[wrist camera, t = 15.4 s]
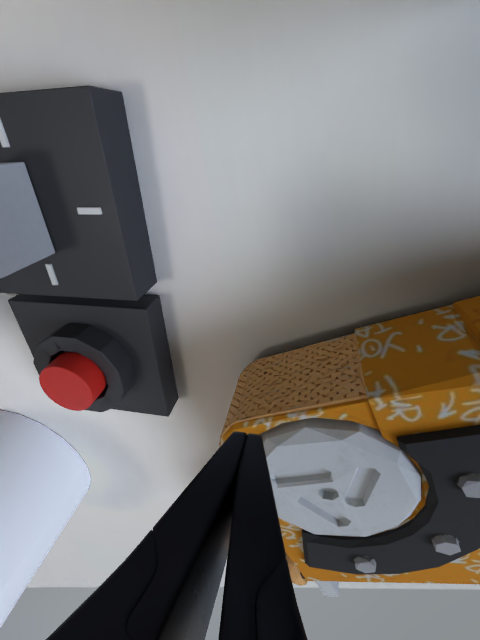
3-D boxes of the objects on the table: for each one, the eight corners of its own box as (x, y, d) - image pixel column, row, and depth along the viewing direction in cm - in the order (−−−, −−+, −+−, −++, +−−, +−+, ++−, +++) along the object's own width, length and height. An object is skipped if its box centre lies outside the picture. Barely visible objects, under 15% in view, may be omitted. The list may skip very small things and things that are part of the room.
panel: (-44, 105, 19) (-102, 100, 17) (122, 91, 17) (86, 84, 14) (25, 275, 25) (-11, 293, 22) (157, 282, 23) (135, 302, 20)
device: (766, 660, 17) (255, 621, 28) (634, 505, 24) (267, 524, 35) (926, 297, 8) (102, 452, 20) (648, 221, 15) (158, 368, 27)
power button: (48, 349, 23) (30, 364, 22) (98, 354, 22) (82, 370, 21) (66, 391, 25) (50, 407, 24) (112, 396, 24) (98, 414, 23)
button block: (29, 287, 25) (-15, 311, 22) (159, 295, 23) (132, 323, 20) (68, 384, 30) (37, 416, 27) (178, 398, 28) (159, 434, 25)
